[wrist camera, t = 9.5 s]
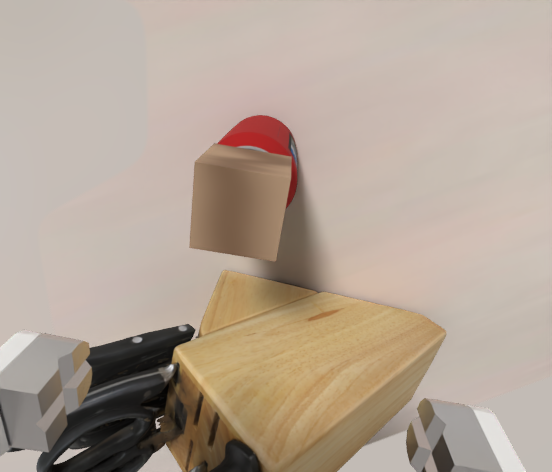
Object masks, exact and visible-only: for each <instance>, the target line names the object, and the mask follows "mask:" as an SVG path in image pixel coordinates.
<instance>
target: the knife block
mask: <svg viewBox="0 0 552 472" xmlns="http://www.w3.org/2000/svg"><path fill="white" fill-rule="evenodd" d="M194 332H195V329H194V328H193V327H192V326H190V325H189V324H186V325H181V326H177V327H172V328H167V329H162V330H158V331H153V332H148V333H144V334H141V335H137V336H133V337H130V338H126V339H123V340H119V341H116V342H112V343H108V344H105V345H101V346H97V347H92V348H89V349H90V354H89V356H88V357H87V358H86V361H87V362H88V363H89V365H90V366H91V367H92V380H91V385H90V388H89V390H88V393H87V395H86V397H85V399H84V400H83V402H82V404H81V405H80V407H79V408H77V409H76V410H74V411H72V412H71V413H69V414H67V424H68V425H67V426H66V428H65V429H64V431H63V432H62V434H61V435H60V437H59V438H58V440H57V441H56V443H55V444H54V446H53V447H52V449H51V450H50V452H43V453H42V454H41V456H40V457H39V459H38V462H37V472H137V471H138V470H139V469H140V468H141V467H142V466H143V465H144V464H145V463H146V462H147V461H148V459H149V458H150V457H151V455H152V454H153V453H155V452H156V451H158V450H159V449H160V448H162V447H163V446H164V445H165V443H166V445H167V446H168V448H169V450H170V451H171V453H172V455H173V456H174V458H175V459H176V461H177V463H178V464H179V466H180V468H181V469H182V471H183V472H337V471H338V470H339V469H340V468H341V467H342V466H343V465H344V464H345V463H346V462H347V461H348V460H349V459H350V458H351V457H352V456H354V454H356V453H357V452H358V451H359V450H360V449H361V448H362V447H363V446H364V445H365V444H366V443H367V442H368V441H369V440H370V439H371V438H372V437H373V436H374V435H375V434H376V433H377V432H378V431H379V430H380V429H381V428H382V427H383V426H384V425H385V424H386V423H387V422H388V421H389V420H390V419H391V418H392V417H393V416H395V415H396V414H397V413H398V412H399V411H400V410H401V409H402V408H403V407H404V406H405V405H406V404H407V403H408V402H409V401H410V400H411V399H412V397H413V395H414V393H415V391H416V389H417V387H418V386H419V384H420V382H421V380H422V379H423V377H424V375H425V373H426V372H427V370H428V368H429V366H430V365H431V363H432V361H433V359H434V357H435V355H436V353H437V351H438V350H439V348H440V346H441V344H442V342H443V340H444V339H445V337H446V331H445V330H444V329H443V328H441V327H440V326H438V325H437V324H435V323H434V322H432V321H431V320H429V319H428V318H426V317H425V316H423V315H421V314H417V313H414V312H410V311H406V310H402V309H397V308H393V307H389V306H384V305H380V304H376V303H371V302H367V301H363V300H358V299H354V298H350V297H345V296H341V295H337V294H332V293H327V292H320V293H317V292H316V291H313V290H309V289H305V288H301V287H297V286H292V285H288V284H284V283H280V282H276V281H271V280H267V279H263V278H259V277H254V276H250V275H245V274H241V273H237V272H232V271H227V270H224V271H223V272H222V273H221V276H220V278H219V280H218V283H217V285H216V287H215V290H214V292H213V295H212V297H211V299H210V302H209V304H208V307H207V309H206V312H205V314H204V317H203V319H202V322H201V326H200V330H199V334H198V336H197V337H195V338H197V339H194V340H191V339H192V337H193V335H194ZM163 415H164V417H162V418H160V419H158V420H157V421H158V422H160V424H159V425H161V426H160V427H161V428H158V429H156V423H155V420H156V418H159V417H161V416H163ZM90 446H91V447H90ZM87 447H89V448H88V449H86V450H84V451H82V452H81V453H79V454H77V455H76V456H74V457H72V458H71V459H69V460H67V461H65V462H62V463H59V464H55V465H53V464H54V462H55V461H56V460H57V459H58V458H59V456H61V455H62V454H63V453H64V452H65V451H66V450H67V449H68V448H70V449H82V448H87ZM9 448H10V449H9V450H8V451H7V452H14V451H21V450H25V449H20V448H13V447H9Z"/></svg>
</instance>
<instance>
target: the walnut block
mask: <svg viewBox="0 0 552 472" xmlns="http://www.w3.org/2000/svg"><path fill="white" fill-rule="evenodd" d="M291 162H292V157H291V156H285V155H279V154H273V153H267V152H262V151H256V150H250V149H244V148H238V147H232V146H226V145H221V144H215V143H214V144H213V145H212V146H211V147H210V148H209V149H208V150H207V151H206V152H205V153H204V154H203V155H202V156H201V157H200V158H199V159H198V160H196V161H195V167H194V183H193V199H192V215H191V231H190V247H189V248H195V249H201V250H207V251H213V252H219V253H225V254H231V255H238V256H244V257H250V258H256V259H262V260H268V261H274V262H276V258H277V252H278V247H279V241H280V236H281V230H282V225H283V219H284V214H285V209H286V203H287V198H288V192H289V187H290V181H291Z"/></svg>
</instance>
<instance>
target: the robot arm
mask: <svg viewBox="0 0 552 472" xmlns="http://www.w3.org/2000/svg"><path fill="white" fill-rule="evenodd" d="M89 354H90V349H89V343H88V342H85V341H81V340H76V339H71V338H66V337H61V336H56V335H51V334H46V333H44V334H43V333H38V332H33V331H28V330H22V331H20V332H17V333H15V334H14V335H13V336H12V337H11V338H10V339H9V340H8V341H7V342H5V343H4V345H2V346H1V347H0V456H1V455H3V454H4V453H5V452H7V451H8V450H9V449H10V448H9V447H13V448H20V449H28V450H35V451H42V452H50V450H51V449H52V447H53V446H54V444H55V443H56V441H57V440H58V438H59V437H60V435H61V434H62V432H63V431H64V429H65V428H66V426H67V425H68V424H67V414H69V413H71V412H72V411H74V410H76V409H77V408H79V407H80V405H81V404H82V402H83V400H84V399H85V397H86V395H87V393H88V390H89V388H90V385H91V380H92V367H91V366H90V365H89V363H88V362H87V361H86V358H87V357H88V356H89ZM417 410H418V413H419V417H418V418H416V419H414V420H412V421H411V423H410V425H409V428H408V430H407V440H406V445H407V453H408V457H409V461H410V464H411V465H412V467H414V469H415V470H416V471H417V472H526V470H525V468H524V466H523V465H522V463H521V461H520V459H519V457H518V456H517V454H516V452H515V450H514V448H513V447H512V445H511V443H510V441H509V439H508V438H507V436H506V434H505V432H504V431H503V428H502V427H501V425H500V423H499V421H498V419H497V418H496V416H495V414H494V413H493V412H492V411H491V410H490V409H489V408H482V407H477V406H471V405H464V404H459V403H453V402H446V401H440V400H433V399H427V398H425V399H423V400H422V401H421V402H420V404H419V406H418V408H417Z"/></svg>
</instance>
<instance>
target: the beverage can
mask: <svg viewBox="0 0 552 472" xmlns="http://www.w3.org/2000/svg"><path fill="white" fill-rule="evenodd" d="M218 144H221V145H226V146H232V147H238V148H244V149H250V150H256V151H262V152H267V153H273V154H279V155H285V156H291V157H292V162H291V181H290V187H289V192H288V198H287V203H286V208H287V207H288V206H289V204H290V203H291V201H292V199H293V197H294V195H295V192H296V187H297V151H296V144H295V140H294V138H293V135H292V134H291V132H290V130H289V129H288V128H287V127H286V126H285V125H284V124H283V123H282V122H280V121H279V120H277V119H275V118H272V117H269V116H263V115H258V116H252V117H249V118H246V119H244V120H242V121H241V122H240V123H238V124H237V125H236V126H235V127H234V128H233V129H231V130H230V131H229V132H228V133H227V134H226V135H225V136H224V137H223V138H222V139H221V140H220V141H219V142H218Z"/></svg>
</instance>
